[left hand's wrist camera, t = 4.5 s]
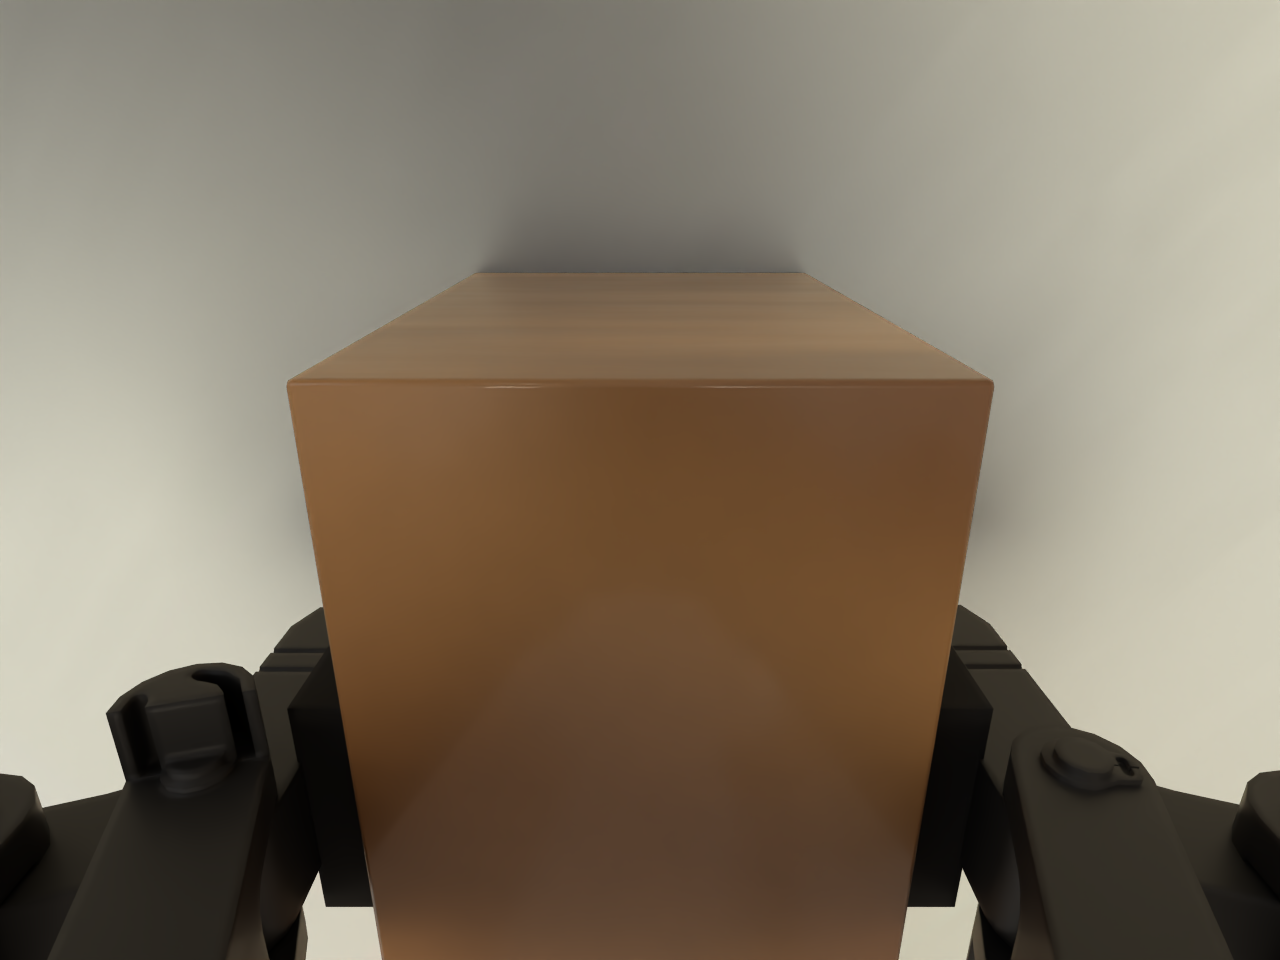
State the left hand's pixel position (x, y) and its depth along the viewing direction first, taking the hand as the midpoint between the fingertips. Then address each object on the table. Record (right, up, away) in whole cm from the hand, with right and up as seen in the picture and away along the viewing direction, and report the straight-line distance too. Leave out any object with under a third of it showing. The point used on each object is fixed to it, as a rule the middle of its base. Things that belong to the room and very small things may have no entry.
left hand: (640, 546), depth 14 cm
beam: (0, -32, +13) cm, 34 cm away
